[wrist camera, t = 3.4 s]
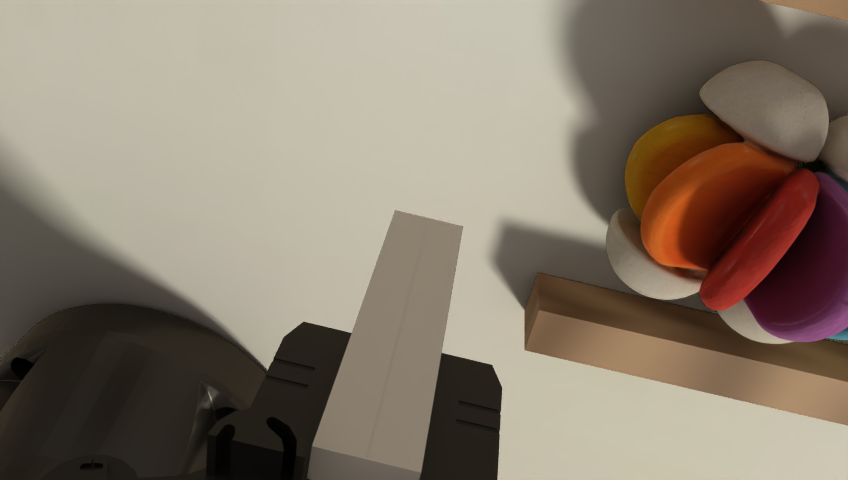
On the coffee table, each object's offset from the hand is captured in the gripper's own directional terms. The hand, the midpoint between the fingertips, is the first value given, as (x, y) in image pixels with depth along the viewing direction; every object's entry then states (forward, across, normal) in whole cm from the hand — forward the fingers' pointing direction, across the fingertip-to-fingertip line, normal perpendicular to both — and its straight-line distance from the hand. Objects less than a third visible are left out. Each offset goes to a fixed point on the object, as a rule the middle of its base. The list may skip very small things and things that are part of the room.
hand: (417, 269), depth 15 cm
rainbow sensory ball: (+11, +11, -1) cm, 15 cm away
